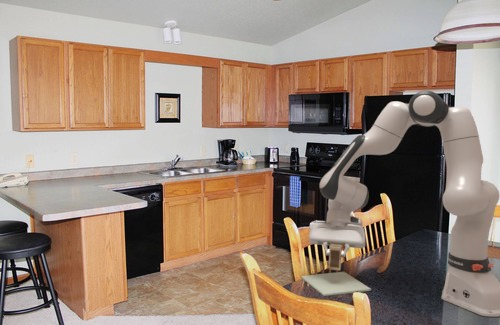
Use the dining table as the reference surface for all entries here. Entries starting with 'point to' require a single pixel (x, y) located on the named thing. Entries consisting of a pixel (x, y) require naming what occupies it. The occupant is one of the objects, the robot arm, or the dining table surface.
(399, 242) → the dining table surface
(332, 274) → the sage mat
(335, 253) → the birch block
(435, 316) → the dining table surface
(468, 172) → the robot arm
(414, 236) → the dining table surface
